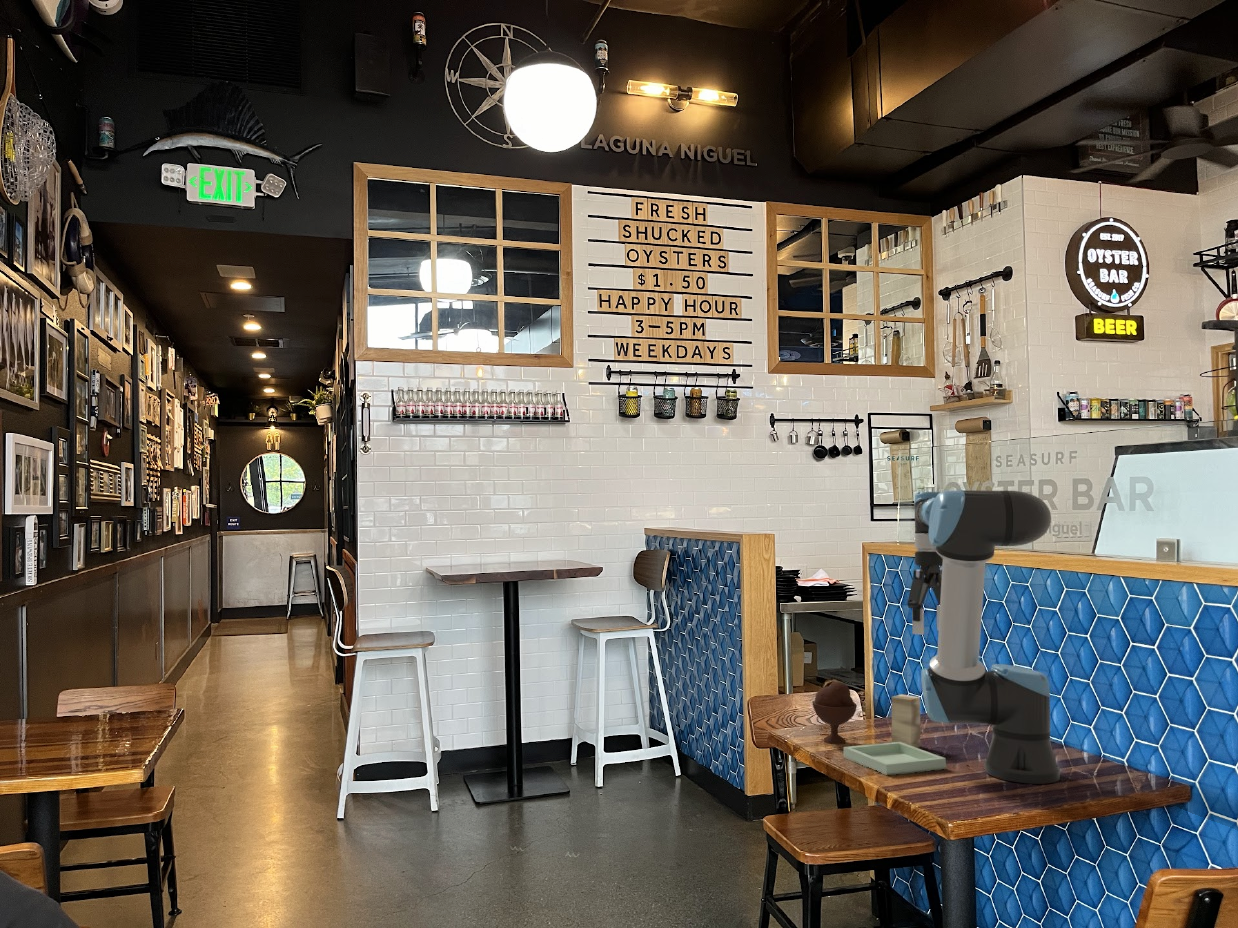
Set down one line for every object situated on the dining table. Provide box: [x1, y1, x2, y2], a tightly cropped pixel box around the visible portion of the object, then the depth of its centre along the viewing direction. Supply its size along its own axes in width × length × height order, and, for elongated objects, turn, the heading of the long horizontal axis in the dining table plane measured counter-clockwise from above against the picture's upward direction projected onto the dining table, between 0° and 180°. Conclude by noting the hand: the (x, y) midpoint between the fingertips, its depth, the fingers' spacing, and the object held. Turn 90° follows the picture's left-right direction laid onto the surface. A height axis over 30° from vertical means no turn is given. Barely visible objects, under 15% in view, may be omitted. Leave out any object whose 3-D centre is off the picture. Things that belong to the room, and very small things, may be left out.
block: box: [891, 693, 921, 749], centre depth 225 cm, size 5×5×12 cm
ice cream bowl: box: [811, 681, 858, 745], centre depth 230 cm, size 11×11×15 cm
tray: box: [843, 741, 947, 776], centre depth 209 cm, size 16×16×2 cm
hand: (930, 632), depth 238 cm, fingers open, 13 cm apart
